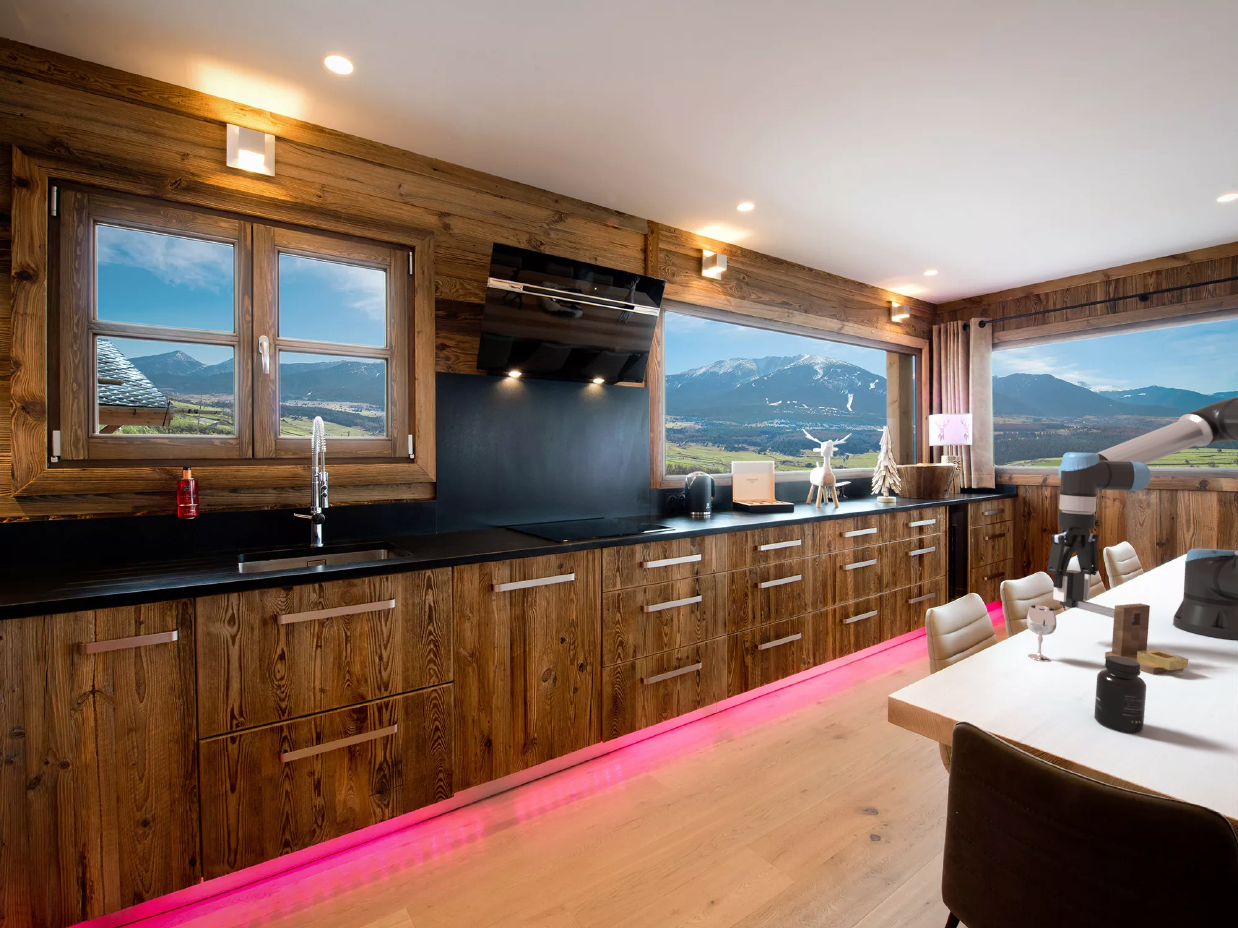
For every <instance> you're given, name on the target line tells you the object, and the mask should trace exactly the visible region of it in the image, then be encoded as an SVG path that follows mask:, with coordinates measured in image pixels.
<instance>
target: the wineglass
mask: <svg viewBox="0 0 1238 928" xmlns="http://www.w3.org/2000/svg"><path fill="white" fill-rule="evenodd" d="M1056 615H1057V614H1056V611H1055V609H1054V608H1053V607H1049V606H1044V605H1036V604H1034V605H1030V606H1029V609H1028V612H1027V615H1026V625H1027V626H1026V627H1027V628H1028V630H1030V631H1031V632H1032V633H1034V634H1037V635H1038V636H1037V641H1038V651H1037V653H1031V654H1028V655H1027V657H1028V658H1029V657H1030V659H1032V660H1034V661H1040V662H1051V661H1052V660H1051V659H1052V658H1050V657H1048V656H1045V655H1043V654H1042V645H1043V644H1042V643H1043V640H1044V638H1043V637H1044V636H1048V635H1052V634H1053V633H1054V632H1055V631H1056V629H1057V624H1058V623H1057V616H1056Z"/></svg>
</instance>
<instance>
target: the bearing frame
mask: <svg viewBox="0 0 1238 928" xmlns="http://www.w3.org/2000/svg"><path fill="white" fill-rule="evenodd" d="M1114 609H1115V610H1114V618H1113V628H1112V629H1113V630H1112V639H1111V640H1112V642H1111V643H1112V644H1111V650H1110V651H1105V653H1104V659H1106V657H1107V656H1119V657H1124V658H1128V659H1132V660H1134V661H1137V662H1138V663H1140V672H1141V671H1142V672H1144V673H1147V674H1150V675H1153V676H1154V675H1159V674H1168V673H1173V672H1183V671H1184V669H1176V670H1167V669H1164V668H1161V667H1158V666H1155V665H1152V664H1148V663H1145V662H1142V661H1139V660H1137V651H1143V650H1148V638H1149V637H1148V636H1149V623H1150V609H1151V606H1150V605H1149V604H1145V603H1131V604H1130V603H1128V604H1118V605H1117V604H1116V605H1114ZM1133 614H1135V621H1134V622H1132V616H1133Z"/></svg>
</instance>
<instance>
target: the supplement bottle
mask: <svg viewBox="0 0 1238 928" xmlns="http://www.w3.org/2000/svg"><path fill="white" fill-rule="evenodd" d="M1104 668H1105V669H1103V670H1100V671H1099V672H1098V673H1097V675H1096V686H1095V687H1096V688H1095V698H1094V699H1095V702H1094V716H1093V717H1094V719H1095V721H1096V722H1097V723H1098V724H1100V725H1101V726H1103V727H1105V728H1107V729H1109V730H1110V729H1111V730H1113V731H1115V732H1120V733H1125V734H1139V733H1142V731H1143V730H1144V722H1145V710H1146V697H1147V684H1146V682H1145V681H1144V680H1143V679H1142V678H1141V677H1139V676H1140V675H1141V673H1142V672H1141V670H1140V663H1138V662H1137V661H1134V660H1132V659H1128V658H1124V657H1119V656H1107V657H1106V658H1105V663H1104Z"/></svg>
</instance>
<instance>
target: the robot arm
mask: <svg viewBox="0 0 1238 928" xmlns="http://www.w3.org/2000/svg"><path fill="white" fill-rule="evenodd" d="M1235 441H1237V442H1238V397H1236V396H1235V397H1232V398H1226V399H1224V400H1220V401H1217V402H1214V403H1212V404H1209V405H1206V406H1203V407H1201V408H1199V409H1196V410H1193V411H1191V412H1188V413H1186V414H1184V415H1181V416H1180V417H1179V418H1178V420H1177V421H1175V422H1173V423H1171V424H1168V425H1166V426H1163V427H1160V428H1157V429H1155V430H1153V431H1149V432H1147V433H1145V434H1142V435H1140V436H1137V437H1134V438H1132V439H1130V440H1126V441H1123V442H1121V443H1119V444H1117V445H1114V446H1110V447H1109V448H1106V449H1104V450H1100V451H1099V452H1075V451H1074V452H1071V451H1067V452H1066V453H1064V454H1063V456H1062V459H1061V464H1059V467H1058V473H1057V474H1058V477H1059V479H1060V483H1059V484H1060V485H1059V487H1060V488H1059V502H1058V503H1059V504H1058V506H1059V507H1058V508H1059V510H1061V511H1059V512H1058V513H1057V514H1058V515H1057V517H1058V518H1057V524H1058V525H1057V526H1059V527H1061V528H1062V529H1061V530H1060V533H1059V534H1056V533H1053V534H1051V547H1050V552H1049V559H1048V562H1047V563H1048V565H1047V573H1049V574H1050V575H1051V574H1052V575H1053V593H1052V594H1053V597H1052V600H1055V601H1059V602H1060V601H1062V602H1066V591H1067V576H1064V575H1065V573H1066V570H1067V569H1068V567H1069V565H1070V562H1071V559H1072V556H1073V553H1076V557H1077V562H1078V566H1079V569H1080V572H1085V580H1084V596H1083V600H1084V601H1089V600H1090V596H1091V581H1092V576H1096V575H1097V574H1098V572H1099V552H1098V551H1099V550H1098V548H1099V547H1098V541H1099V534H1096V533H1091V532H1090V530H1092V529H1094V528H1095V527H1096V526H1095V525H1096V524H1095V523H1096V515H1095V514H1093V513H1095V512H1096V511H1097V494H1098V490H1099V491H1102V490H1103V491H1105V490H1106V491H1124V492H1131V491H1132V492H1133V491H1134V492H1135V491H1138V492H1139V491H1143V490H1144V489H1146V488H1147V487H1148V486H1149V484H1150V483H1151V476H1152V474H1151V470H1150V468H1149V466H1148V464H1150V463H1152V462H1155V461H1158V460H1160V459H1163V458H1165V457H1169V456H1171V455H1174V454H1176V453H1178V452H1181V451H1185V450H1187V449H1189V448H1193V447H1205V446H1208V445H1212V444H1214V443H1219V442H1221V443H1223V442H1235ZM1182 597H1183V598H1182V600H1181V602H1180V603H1179V606H1178V608H1177V610H1176V612H1174V616H1173V617H1172V618H1173V619H1172V625H1173V626H1174V627H1175V628H1177V629H1181V630H1184V631H1186V632H1190V633H1194V634H1196V635H1202V636H1205V637H1211V638H1212V637H1213V638H1218V639H1225V640H1238V549H1237V550H1232V549H1231V550H1230V549H1216V548H1215V549H1213V548H1212V549H1211V548H1190V549H1189V550H1188V551H1187V553H1186V560H1185V562H1184V584H1183V596H1182Z"/></svg>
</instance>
